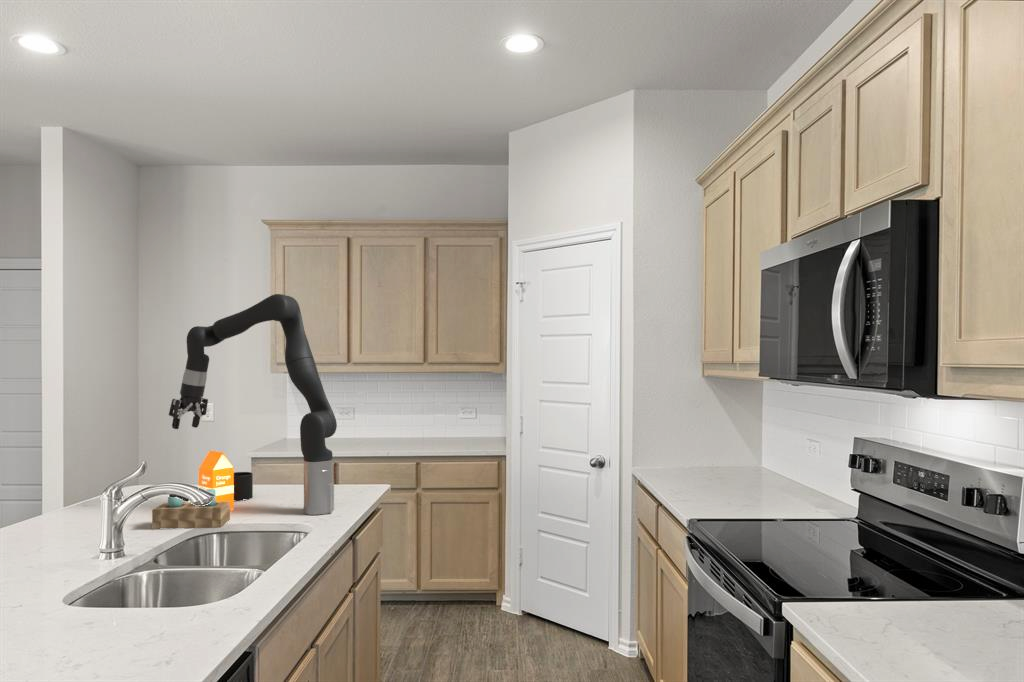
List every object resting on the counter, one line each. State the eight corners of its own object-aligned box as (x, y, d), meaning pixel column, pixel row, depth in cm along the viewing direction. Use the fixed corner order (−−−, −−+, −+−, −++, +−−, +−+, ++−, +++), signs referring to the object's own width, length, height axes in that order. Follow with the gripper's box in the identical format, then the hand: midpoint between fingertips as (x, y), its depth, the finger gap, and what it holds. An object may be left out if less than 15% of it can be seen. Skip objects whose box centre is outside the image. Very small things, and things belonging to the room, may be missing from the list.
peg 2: (217, 507, 220) (217, 488, 220) (213, 509, 216) (213, 491, 216) (204, 507, 220) (204, 489, 220) (199, 510, 216) (199, 491, 216)
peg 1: (184, 508, 219) (184, 489, 219) (179, 510, 215) (179, 492, 215) (171, 508, 219) (171, 490, 219) (165, 511, 215) (165, 492, 215)
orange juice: (212, 514, 231) (212, 453, 231) (198, 511, 236) (198, 451, 237) (234, 510, 237) (234, 451, 238) (220, 507, 243) (219, 449, 243)
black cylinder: (261, 495, 263) (261, 471, 263) (242, 502, 251) (242, 476, 251) (239, 494, 265) (239, 470, 265) (219, 501, 253) (219, 475, 253)
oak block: (230, 520, 223) (229, 501, 223) (220, 527, 214) (220, 507, 214) (164, 522, 221) (164, 503, 221) (152, 529, 212) (152, 509, 212)
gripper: (185, 385, 238) (176, 432, 238) (217, 384, 251) (208, 429, 251) (169, 380, 240) (160, 426, 241) (201, 380, 254) (193, 424, 254)
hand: (185, 427), depth 246 cm, fingers open, 8 cm apart
